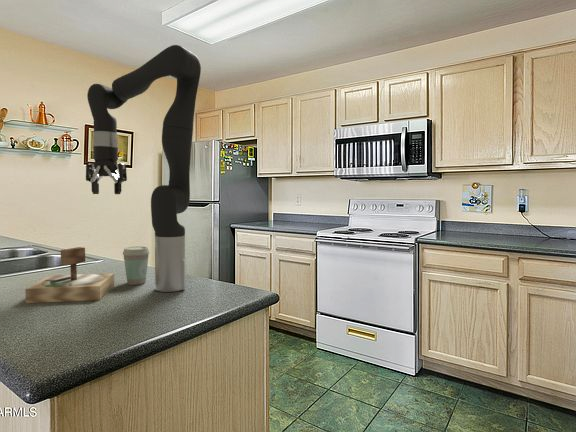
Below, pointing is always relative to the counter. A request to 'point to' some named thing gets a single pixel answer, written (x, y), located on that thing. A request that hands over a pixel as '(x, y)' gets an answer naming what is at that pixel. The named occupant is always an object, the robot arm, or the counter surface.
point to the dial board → (70, 288)
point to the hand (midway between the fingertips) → (106, 194)
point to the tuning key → (71, 261)
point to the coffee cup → (136, 264)
